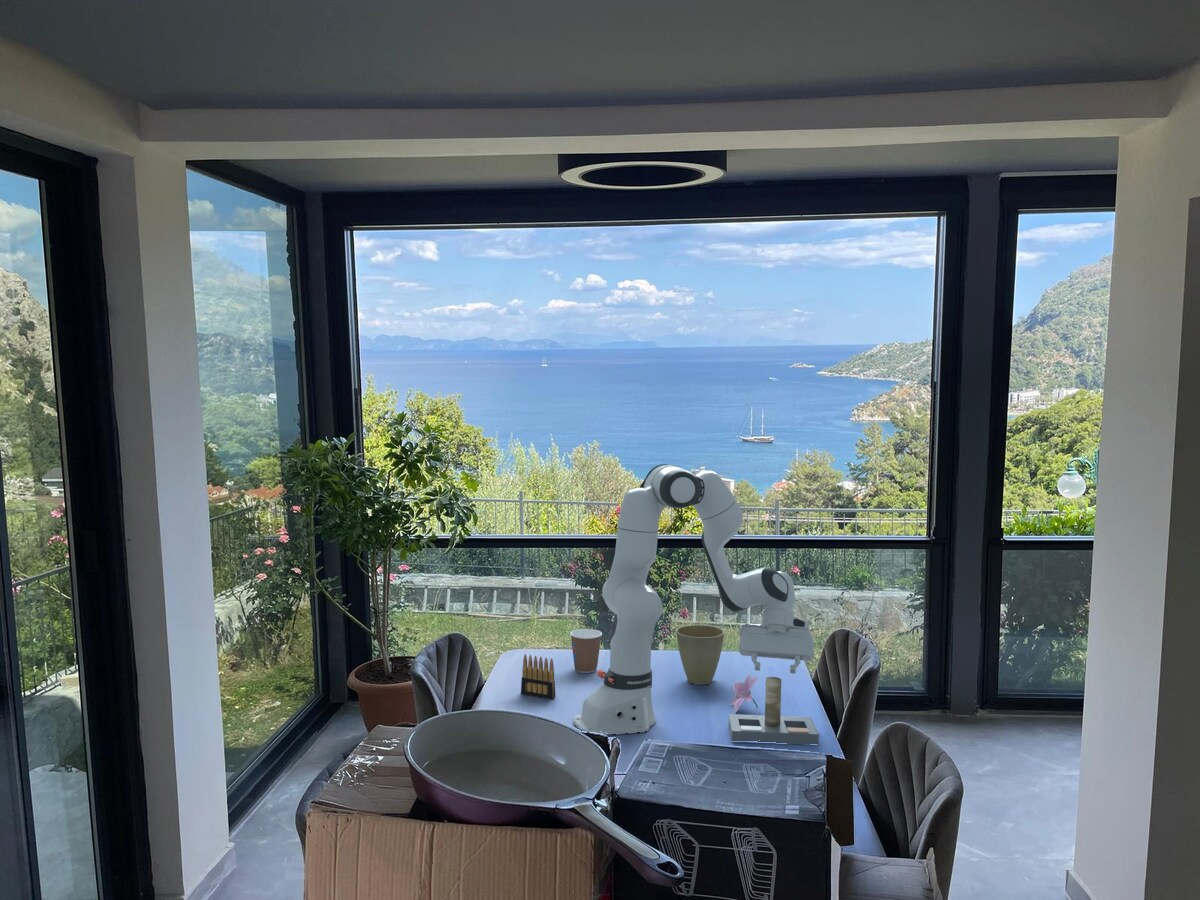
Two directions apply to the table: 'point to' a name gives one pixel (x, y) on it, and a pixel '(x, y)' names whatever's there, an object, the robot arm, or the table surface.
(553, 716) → the table surface
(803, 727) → the socket deck
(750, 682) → the lily
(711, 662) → the plant pot
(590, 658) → the coffee cup
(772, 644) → the robot arm
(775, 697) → the peg
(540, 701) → the table surface
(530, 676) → the ammunition clip
